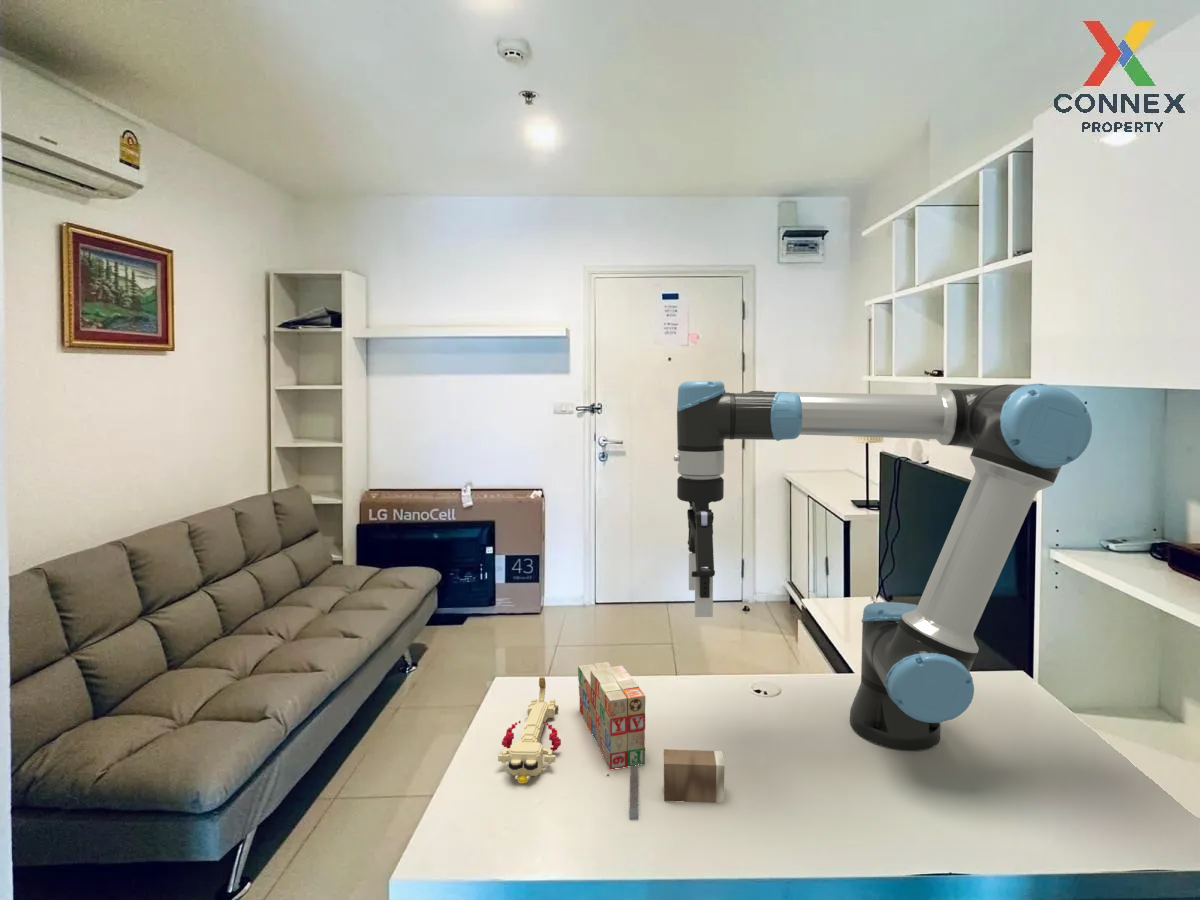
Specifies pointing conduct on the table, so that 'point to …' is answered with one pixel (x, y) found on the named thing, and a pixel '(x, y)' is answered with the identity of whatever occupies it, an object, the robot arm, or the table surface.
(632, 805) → the grey bar
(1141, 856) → the table surface
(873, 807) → the table surface
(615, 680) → the stack of blocks
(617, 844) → the table surface
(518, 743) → the cream long toy figure
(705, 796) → the walnut block
